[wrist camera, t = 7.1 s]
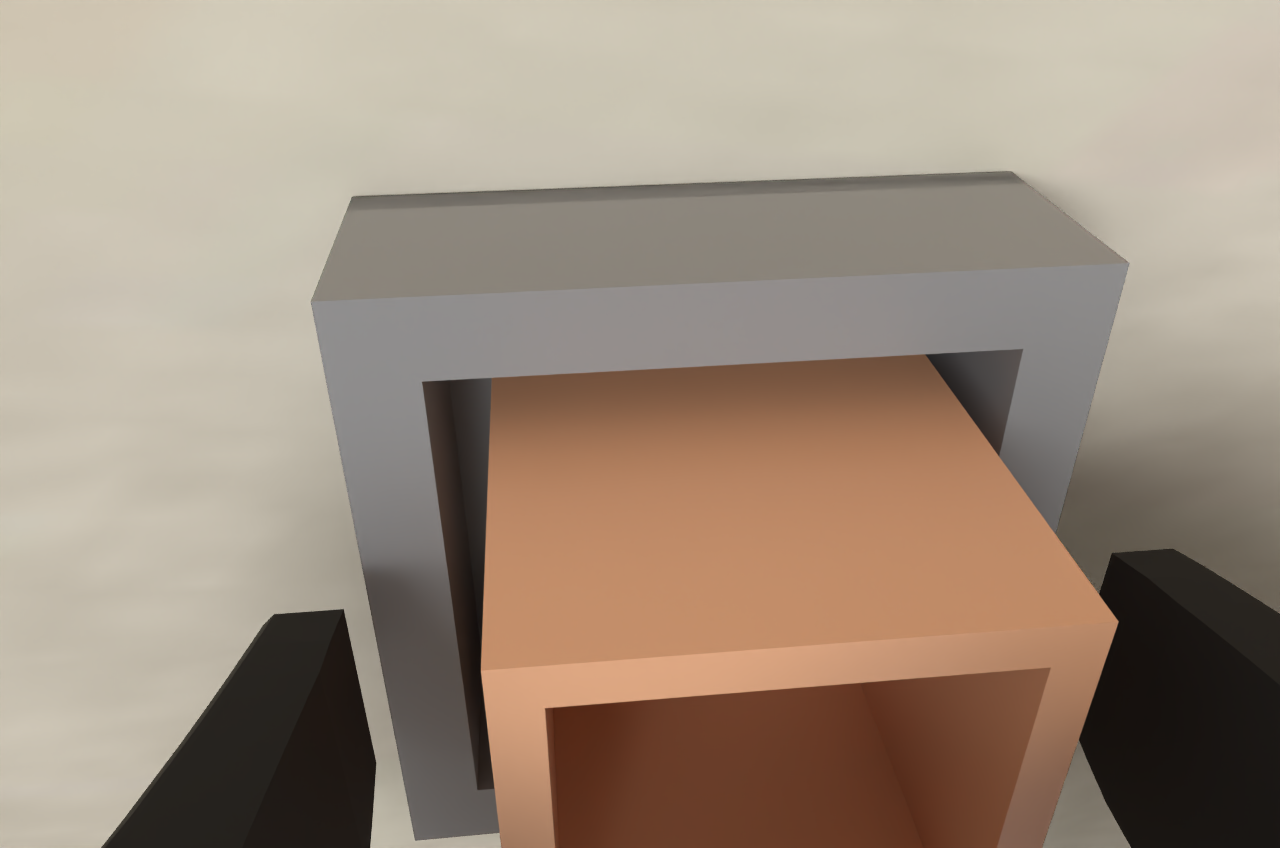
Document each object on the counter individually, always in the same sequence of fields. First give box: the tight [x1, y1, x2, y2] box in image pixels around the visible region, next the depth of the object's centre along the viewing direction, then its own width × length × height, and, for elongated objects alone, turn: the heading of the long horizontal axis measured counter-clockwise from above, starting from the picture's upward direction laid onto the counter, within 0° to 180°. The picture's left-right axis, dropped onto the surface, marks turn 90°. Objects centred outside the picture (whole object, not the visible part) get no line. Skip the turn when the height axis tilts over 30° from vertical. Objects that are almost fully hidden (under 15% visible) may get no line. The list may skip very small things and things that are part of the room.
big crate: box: [311, 172, 1129, 841], centre depth 11 cm, size 7×7×2 cm
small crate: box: [481, 354, 1118, 848], centre depth 10 cm, size 4×4×5 cm
